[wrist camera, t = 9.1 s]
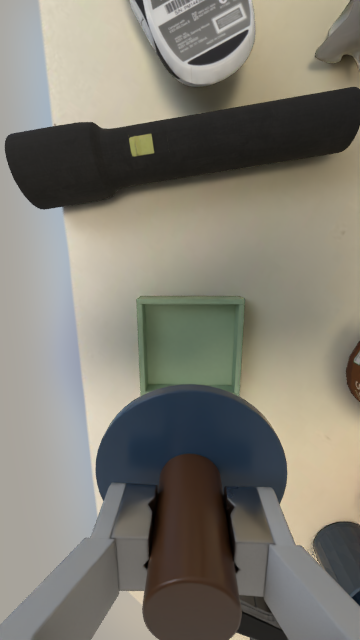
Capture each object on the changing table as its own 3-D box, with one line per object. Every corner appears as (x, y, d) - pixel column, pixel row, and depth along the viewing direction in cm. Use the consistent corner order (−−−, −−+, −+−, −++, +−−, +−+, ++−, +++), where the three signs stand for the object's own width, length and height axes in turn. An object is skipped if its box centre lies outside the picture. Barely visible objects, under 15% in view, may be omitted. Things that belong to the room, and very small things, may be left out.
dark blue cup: (322, 517, 27) (355, 578, 22) (378, 527, 27) (424, 590, 22) (306, 558, 29) (333, 625, 24) (359, 568, 29) (398, 636, 24)
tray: (140, 295, 23) (136, 298, 21) (240, 296, 22) (245, 298, 20) (144, 386, 25) (140, 396, 23) (235, 387, 24) (239, 397, 22)
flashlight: (39, 150, 20) (-7, 119, 15) (328, 100, 19) (378, 49, 14) (56, 213, 21) (19, 203, 17) (325, 171, 20) (370, 146, 15)
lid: (115, 361, 9) (40, 455, 4) (297, 393, 9) (410, 519, 4) (97, 508, 10) (27, 692, 6) (253, 535, 10) (303, 738, 6)
